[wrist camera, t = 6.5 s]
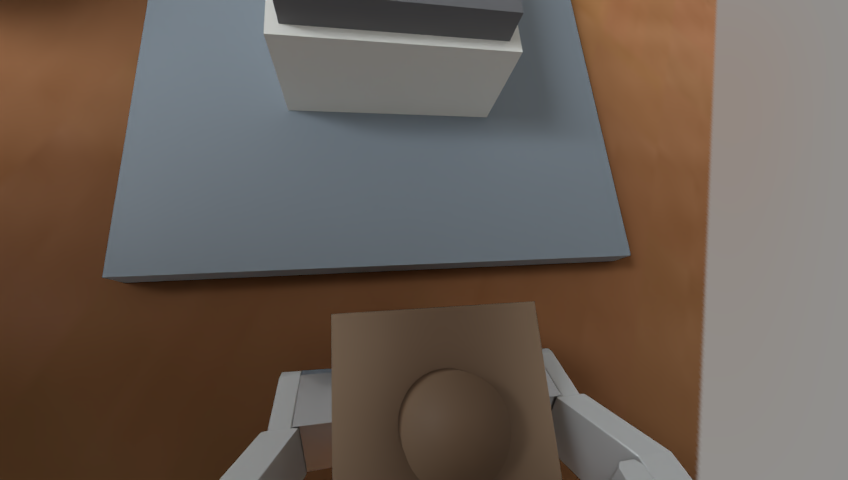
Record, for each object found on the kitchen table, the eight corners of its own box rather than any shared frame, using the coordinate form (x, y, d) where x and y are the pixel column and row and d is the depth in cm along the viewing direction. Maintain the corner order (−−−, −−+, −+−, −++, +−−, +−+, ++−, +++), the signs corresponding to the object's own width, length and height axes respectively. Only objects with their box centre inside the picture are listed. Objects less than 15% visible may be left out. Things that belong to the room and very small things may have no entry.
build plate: (124, 282, 13) (-84, 232, 7) (177, -79, 18) (82, -294, 12) (613, 261, 17) (756, 215, 11) (547, -35, 22) (620, -182, 16)
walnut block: (348, 451, 13) (328, 615, 5) (346, 327, 14) (327, 311, 6) (464, 436, 14) (596, 559, 6) (454, 320, 15) (552, 297, 7)
